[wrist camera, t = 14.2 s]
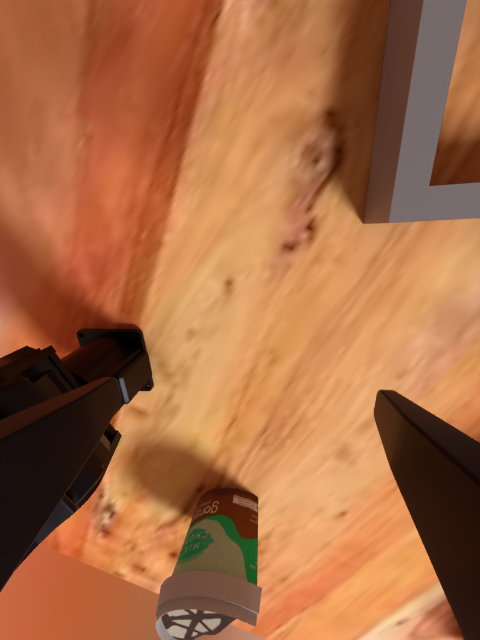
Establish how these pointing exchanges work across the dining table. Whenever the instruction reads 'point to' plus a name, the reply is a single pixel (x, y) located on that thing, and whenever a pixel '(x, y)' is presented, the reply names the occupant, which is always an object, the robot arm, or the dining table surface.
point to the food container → (213, 569)
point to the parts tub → (416, 117)
